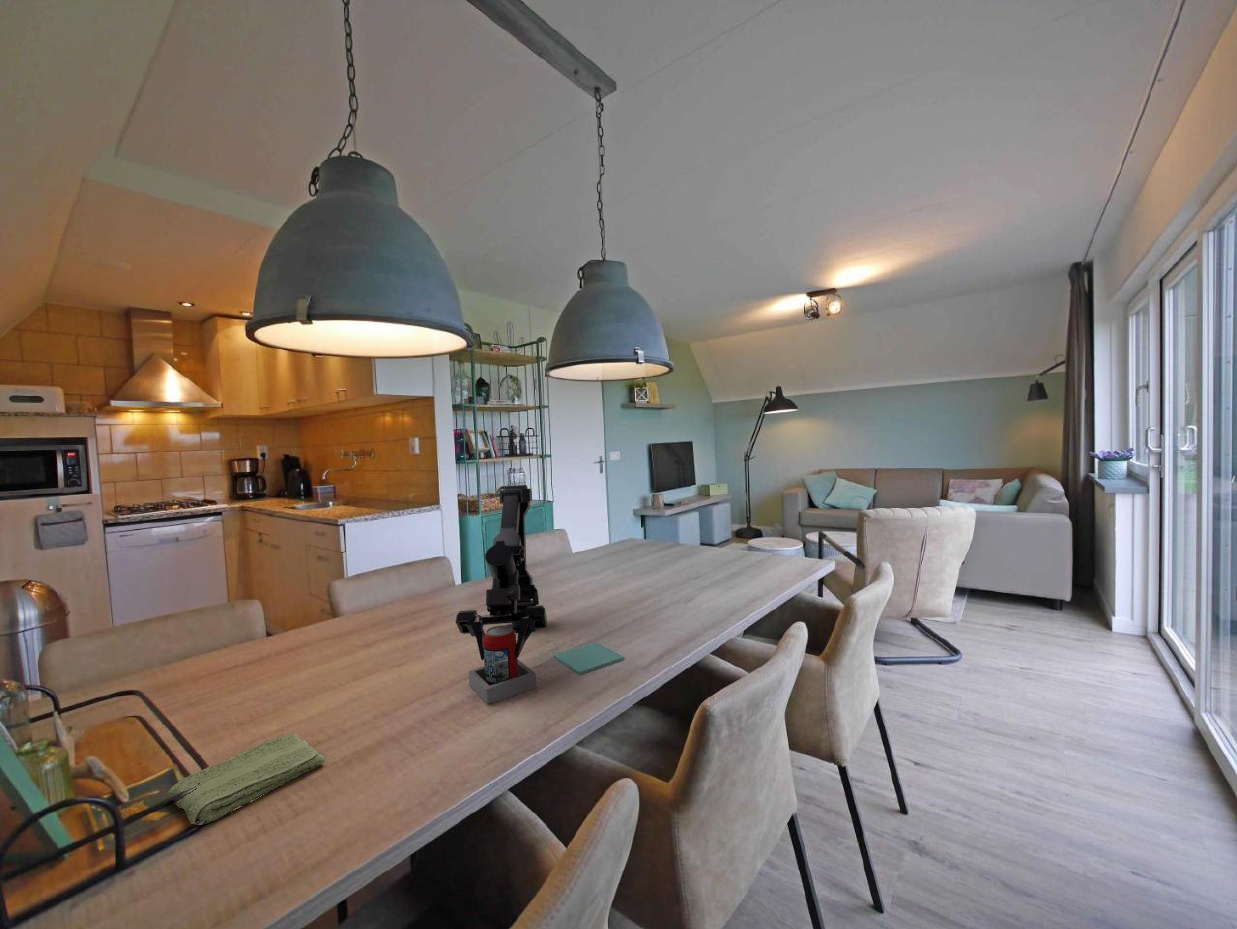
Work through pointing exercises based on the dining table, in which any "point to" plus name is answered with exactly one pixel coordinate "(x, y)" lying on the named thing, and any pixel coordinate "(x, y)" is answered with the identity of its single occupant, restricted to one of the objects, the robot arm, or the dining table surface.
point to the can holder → (502, 684)
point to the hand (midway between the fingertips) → (499, 658)
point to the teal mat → (588, 657)
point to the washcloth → (245, 777)
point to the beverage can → (500, 654)
